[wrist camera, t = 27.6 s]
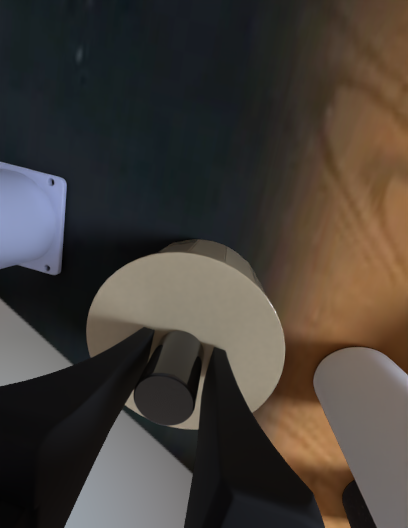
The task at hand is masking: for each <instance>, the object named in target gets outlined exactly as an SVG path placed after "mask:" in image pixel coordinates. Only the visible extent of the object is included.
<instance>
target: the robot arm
mask: <svg viewBox="0 0 408 528" xmlns="http://www.w3.org/2000/svg"><path fill="white" fill-rule="evenodd" d="M52 180H54V185H53V184H52ZM66 190H67V183H66V181H65V180H64V179H63V178H61V177H58V176H54V175H50V174H46V173H42V172H38V171H34V170H31V169H27V168H23V167H19V166H15V165H11V164H7V163H4V162H0V269H2V268H6V267H10V266H14V265H19V266H23V267H26V268H30V269H34V270H37V271H41V272H44V273H48V274H51V275H57V274H59V273H60V272H61V267H62V251H63V236H64V221H65V205H66ZM48 266H49V267H50V269H49V268H48ZM154 331H155V330H154V329H150V328H147V327H143V328H141V329H140V330H138V331H137V332H135V333H134V334H132V335H130V336H129V337H127V338H126V339H124V340H123V341H121V342H119V343H118V344H116V345H114V346H113V347H111V348H109V349H107V350H105V351H103V352H101V353H100V354H98V355H96V356H94V357H92V358H89V359H87V360H85V361H83V362H80V363H78V364H76V365H73V366H70V367H67V368H65V369H62V370H59V371H56V372H53V373H51V374H47V375H44V376H40V377H37V378H33V379H30V380H26V381H22V382H18V383H14V384H9V385H5V386H0V528H64V527H65V525H66V522H67V520H68V518H69V516H70V514H71V511H72V509H73V507H74V505H75V503H76V501H77V498H78V496H79V494H80V492H81V490H82V487H83V485H84V483H85V481H86V479H87V477H88V475H89V473H90V471H91V468H92V466H93V464H94V462H95V460H96V458H97V456H98V454H99V452H100V450H101V448H102V446H103V444H104V442H105V440H106V437H107V435H108V433H109V431H110V429H111V427H112V426H113V424H114V422H115V420H116V418H117V417H118V415H119V413H120V411H121V410H122V408H123V407H124V405H125V403H126V402H127V400H128V398H129V397H130V395H131V393H132V392H133V390H134V388H135V385H136V384H137V382H138V380H139V378H140V376H141V374H142V372H143V370H144V369H145V367H146V365H147V363H148V360H149V355H150V351H151V346H152V341H153V336H154ZM184 528H325V526H324V522H323V519H322V516H321V513H320V510H319V508H318V505H317V503H316V500H315V497H314V494H313V492H312V491H311V490H310V489H309V488H308V487H307V486H306V484H305V483H304V482H303V481H302V480H301V479H300V478H299V476H298V475H297V474H296V473H295V472H294V471H293V470H292V469H291V467H290V466H289V465H288V464H287V462H286V461H285V460H284V459H283V457H282V456H281V455H280V454H279V452H278V451H277V450H276V448H275V447H274V446H273V444H272V443H271V442H270V440H269V439H268V437H267V436H266V434H265V433H264V431H263V430H262V429H261V427H260V426H259V424H258V422H257V421H256V419H255V417H254V416H253V414H252V412H251V410H250V409H249V407H248V405H247V403H246V401H245V399H244V397H243V395H242V393H241V391H240V389H239V386H238V384H237V382H236V379H235V377H234V374H233V372H232V369H231V366H230V363H229V360H228V357H227V353H226V351H225V350H223V349H219V348H216V347H214V348H213V352H212V355H211V358H210V362H209V365H208V368H207V371H206V375H205V378H204V384H203V389H202V395H201V404H200V416H199V428H198V441H197V451H196V458H195V465H194V471H193V477H192V483H191V489H190V496H189V501H188V507H187V513H186V519H185V525H184Z"/></svg>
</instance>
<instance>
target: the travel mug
mask: <svg viewBox="0 0 408 528" xmlns="http://www.w3.org/2000/svg"><path fill="white" fill-rule="evenodd" d="M342 500H343V505H344V509H345V512H346V515H347V518H348V520H349V523H350V526H351V528H377V527H376V524H375V522H374V520H373V518H372V516H371V514H370V511H369V509H368V507H367V505H366V503H365V500H364V498H363V496H362V494H361V492H360V490H359V487H358V485H357V483H356V481H355V480H354V481H353V482H351V483H350V484H349V485H348V486H347V487H346V489H345V490H344V493H343V498H342Z"/></svg>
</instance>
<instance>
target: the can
mask: <svg viewBox="0 0 408 528" xmlns="http://www.w3.org/2000/svg"><path fill="white" fill-rule="evenodd" d="M313 385H314V389H315V392H316V395H317V397H318V399H319V401H320V404H321V406H322V408H323V410H324V413H325V415H326V417H327V419H328V421H329V424H330V426H331V428H332V430H333V433H334V435H335V437H336V439H337V441H338V444H339V446H340V448H341V450H342V452H343V455H344V457H345V459H346V461H347V463H348V465H349V468H350V470H351V472H352V474H353V476H354V479H355V481H356V483H357V485H358V487H359V490H360V492H361V494H362V496H363V498H364V500H365V503H366V505H367V507H368V509H369V511H370V514H371V516H372V518H373V520H374V522H375V524H376V527H377V528H408V375H407V374H406V373H405V372H404V371H403V370H402V369H401V368H400V367H399V366H397V365H396V364H395V363H394V362H393V361H392V360H391V359H390V358H389V357H387V356H386V355H385V354H383V353H381V352H379V351H377V350H374V349H370V348H365V347H350V348H344V349H340V350H337V351H335V352H333V353H331V354H330V355H328V356H326V357H325V358H324V359H323V360H322V361H321V363H320V364H319V366H318V367H317V369H316V372H315V375H314V379H313Z"/></svg>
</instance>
